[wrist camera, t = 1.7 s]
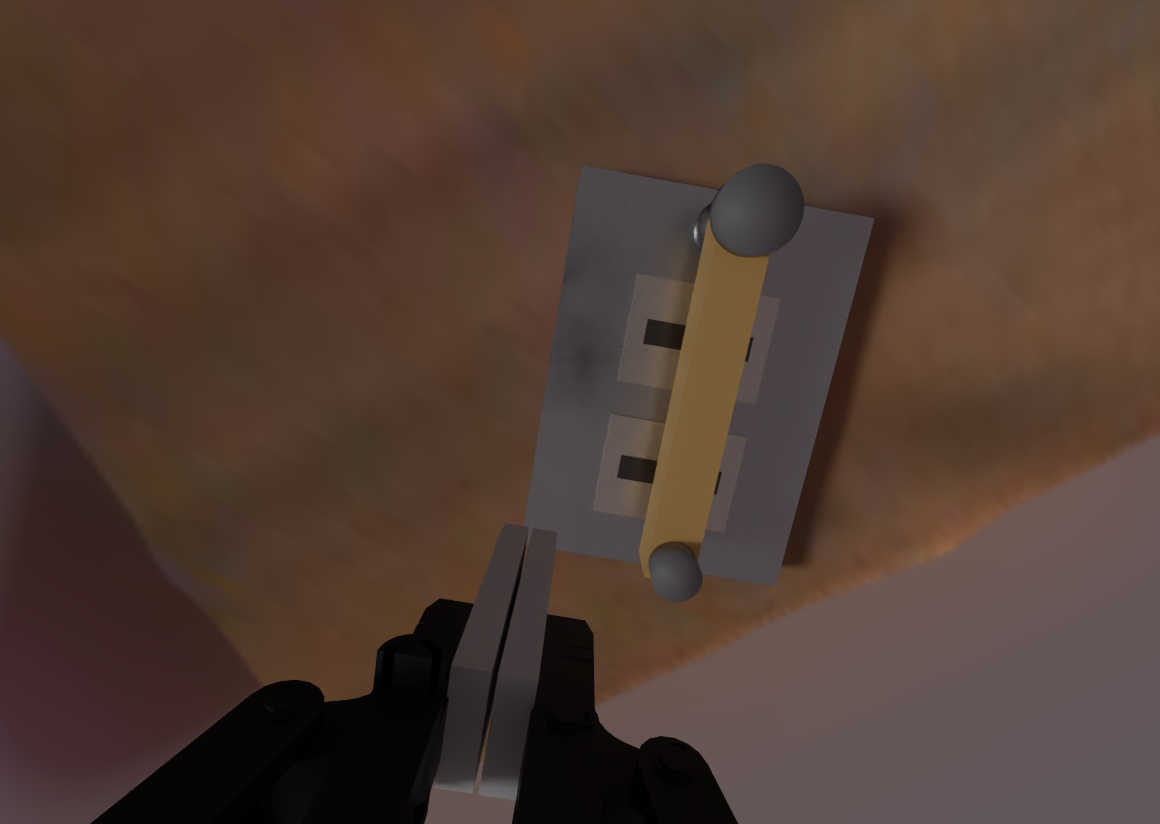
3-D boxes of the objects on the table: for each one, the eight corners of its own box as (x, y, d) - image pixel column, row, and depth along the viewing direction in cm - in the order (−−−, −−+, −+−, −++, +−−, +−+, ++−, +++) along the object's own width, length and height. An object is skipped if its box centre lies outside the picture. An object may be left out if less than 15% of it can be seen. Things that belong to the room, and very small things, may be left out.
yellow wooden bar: (705, 180, 27) (728, 156, 22) (776, 193, 27) (814, 171, 22) (628, 552, 31) (635, 595, 26) (691, 562, 31) (708, 607, 26)
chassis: (582, 175, 32) (581, 155, 27) (852, 224, 32) (896, 212, 27) (525, 527, 36) (516, 560, 32) (763, 566, 36) (788, 604, 32)
